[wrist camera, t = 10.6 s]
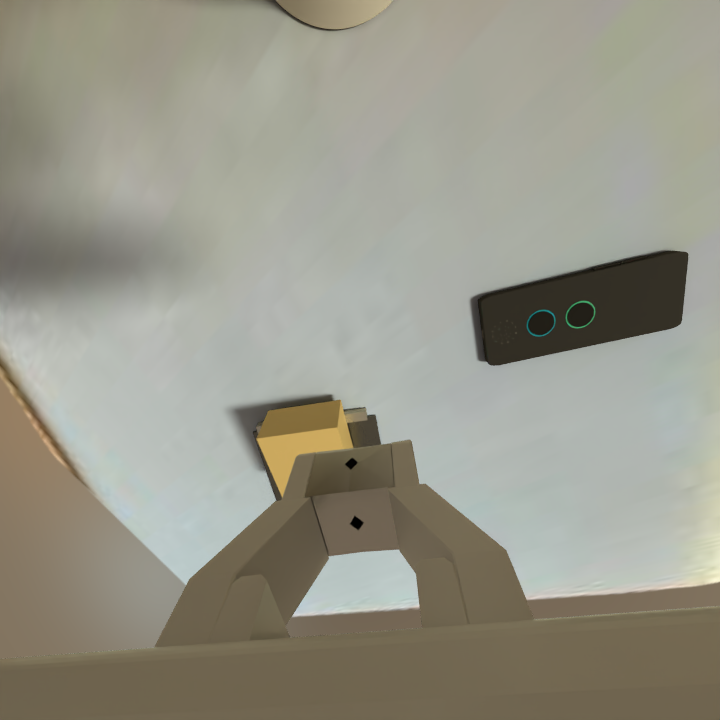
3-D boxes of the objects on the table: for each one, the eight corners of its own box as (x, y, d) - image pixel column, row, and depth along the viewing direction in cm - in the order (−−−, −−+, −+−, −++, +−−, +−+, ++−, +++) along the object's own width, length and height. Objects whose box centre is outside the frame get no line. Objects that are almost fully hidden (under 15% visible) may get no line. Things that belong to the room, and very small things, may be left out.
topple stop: (250, 423, 43) (248, 428, 42) (373, 406, 41) (373, 410, 40) (278, 501, 48) (276, 506, 47) (389, 488, 46) (389, 494, 45)
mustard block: (256, 438, 36) (283, 500, 41) (337, 427, 35) (355, 492, 40) (268, 410, 41) (291, 469, 45) (340, 399, 40) (356, 461, 44)
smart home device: (480, 297, 35) (690, 247, 32) (475, 294, 36) (675, 246, 34) (489, 369, 38) (682, 328, 35) (484, 363, 39) (668, 323, 37)
